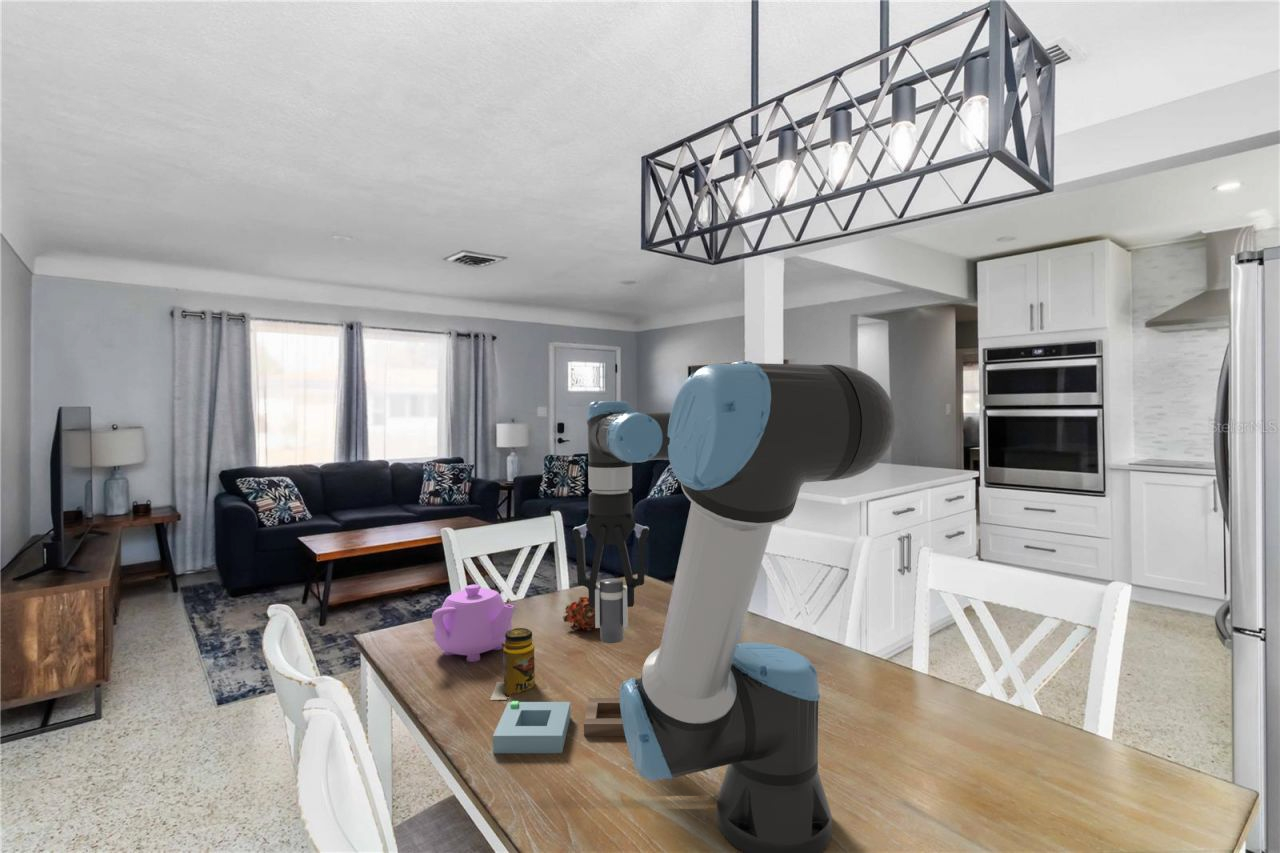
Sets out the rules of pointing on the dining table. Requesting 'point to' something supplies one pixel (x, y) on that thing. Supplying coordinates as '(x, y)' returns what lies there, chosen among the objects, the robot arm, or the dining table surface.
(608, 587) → the plug
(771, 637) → the dining table surface
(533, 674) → the condiment
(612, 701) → the wooden square frame
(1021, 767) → the dining table surface
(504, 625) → the teapot
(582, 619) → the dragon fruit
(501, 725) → the port
